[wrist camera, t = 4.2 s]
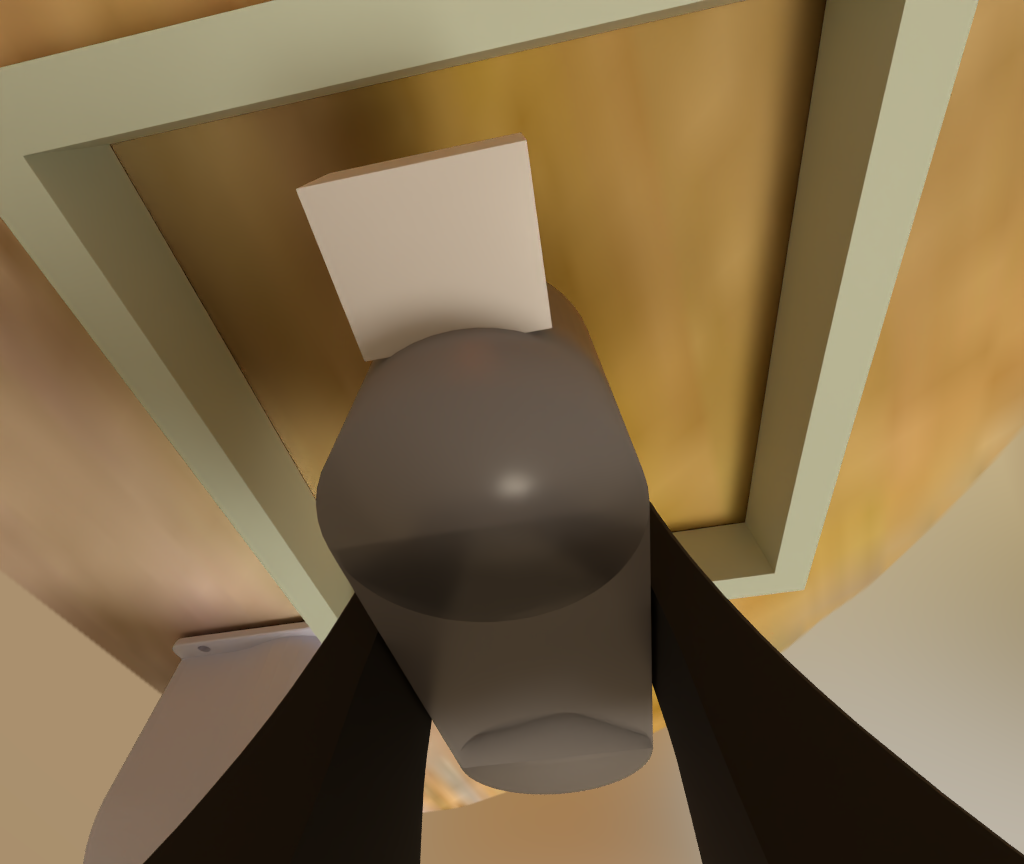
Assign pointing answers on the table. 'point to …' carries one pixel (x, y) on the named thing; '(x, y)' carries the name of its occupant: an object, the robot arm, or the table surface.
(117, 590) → the table surface
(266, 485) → the sage frame
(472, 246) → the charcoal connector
